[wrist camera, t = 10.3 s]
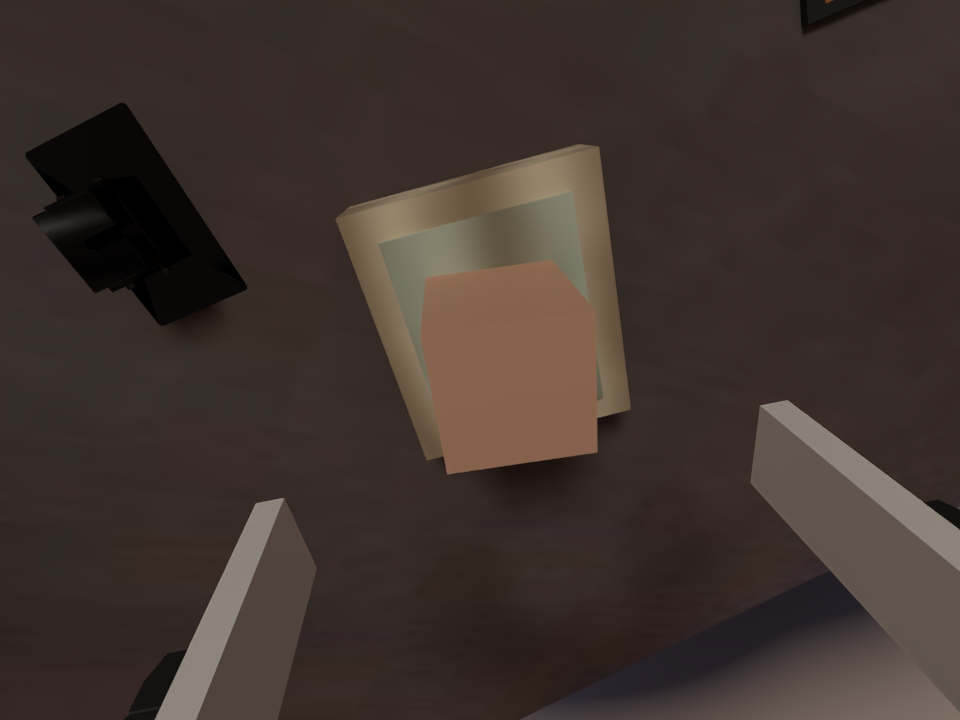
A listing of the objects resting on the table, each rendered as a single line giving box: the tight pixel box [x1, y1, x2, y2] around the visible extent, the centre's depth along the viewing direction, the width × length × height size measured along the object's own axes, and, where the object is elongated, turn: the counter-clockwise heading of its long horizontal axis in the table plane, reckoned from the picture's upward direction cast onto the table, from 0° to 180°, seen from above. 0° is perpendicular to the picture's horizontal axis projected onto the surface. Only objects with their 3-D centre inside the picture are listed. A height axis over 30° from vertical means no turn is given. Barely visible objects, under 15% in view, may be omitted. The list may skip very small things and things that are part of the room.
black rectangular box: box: [25, 103, 247, 326], centre depth 22 cm, size 12×7×5 cm, turn 22°
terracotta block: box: [420, 260, 597, 474], centre depth 20 cm, size 6×6×7 cm
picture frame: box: [336, 144, 631, 460], centre depth 25 cm, size 12×14×4 cm
